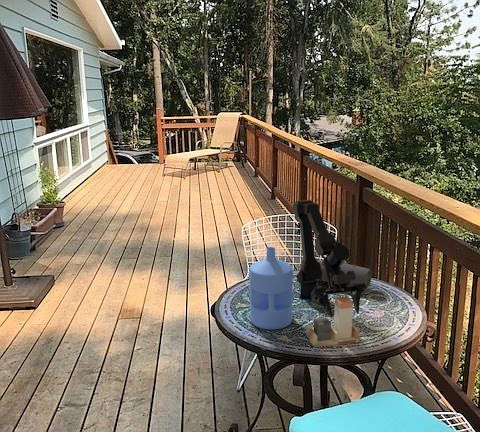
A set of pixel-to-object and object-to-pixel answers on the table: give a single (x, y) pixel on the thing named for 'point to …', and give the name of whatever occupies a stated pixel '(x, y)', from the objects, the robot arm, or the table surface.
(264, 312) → the water jug
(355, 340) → the comb rack
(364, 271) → the bluetooth speaker
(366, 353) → the table surface
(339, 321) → the plug
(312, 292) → the robot arm
